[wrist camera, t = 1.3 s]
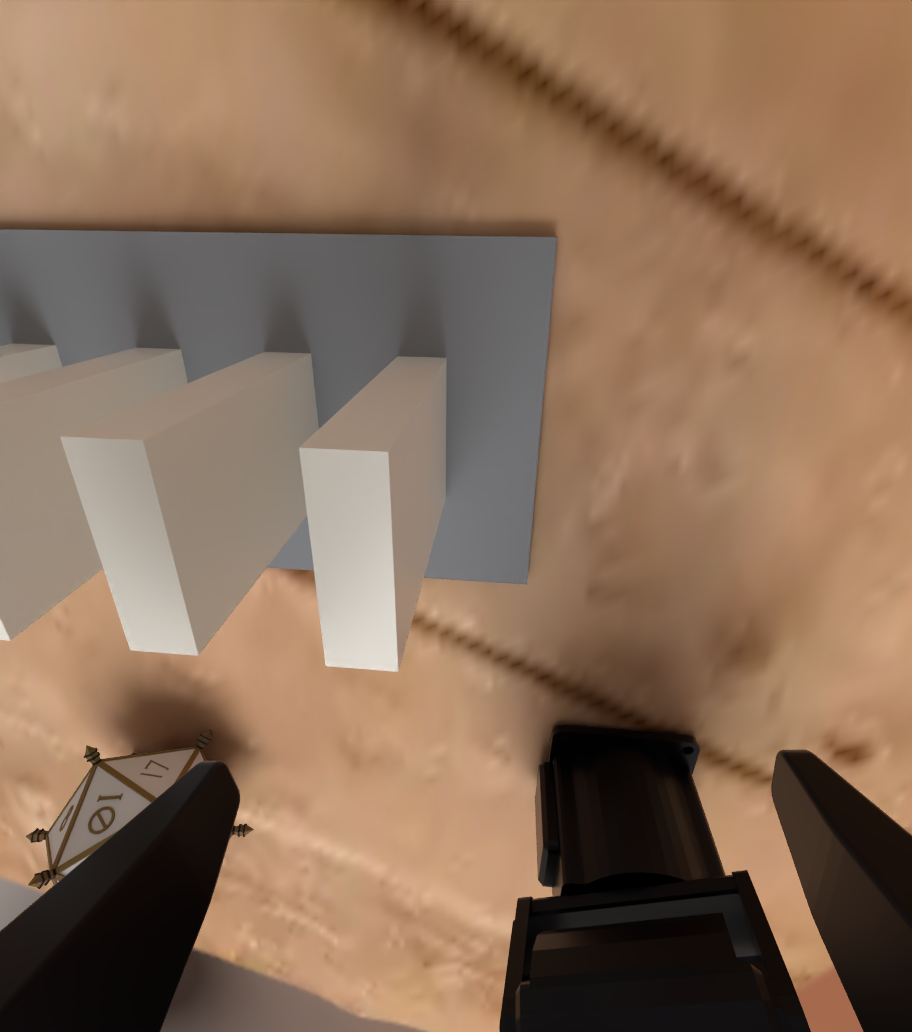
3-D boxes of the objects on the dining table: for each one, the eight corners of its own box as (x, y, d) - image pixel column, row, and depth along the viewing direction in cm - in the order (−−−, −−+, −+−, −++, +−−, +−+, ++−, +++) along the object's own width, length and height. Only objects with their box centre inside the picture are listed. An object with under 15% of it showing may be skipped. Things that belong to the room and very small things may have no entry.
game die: (222, 730, 33) (103, 913, 28) (103, 670, 27) (-71, 887, 23) (316, 787, 28) (189, 1024, 23) (193, 728, 22) (-9, 1027, 17)
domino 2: (311, 353, 18) (142, 440, 10) (325, 492, 20) (198, 655, 12) (263, 351, 18) (59, 436, 10) (283, 489, 20) (130, 650, 12)
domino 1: (180, 349, 18) (-86, 429, 10) (209, 485, 20) (10, 640, 12) (135, 347, 18) (-162, 425, 10) (169, 483, 20) (-55, 635, 12)
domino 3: (446, 357, 17) (388, 452, 9) (445, 498, 20) (397, 671, 12) (397, 356, 17) (298, 447, 9) (402, 496, 20) (325, 666, 12)
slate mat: (555, 237, 16) (557, 237, 16) (526, 575, 21) (526, 584, 21) (-222, 226, 18) (-244, 225, 18) (-71, 537, 24) (-84, 544, 23)
